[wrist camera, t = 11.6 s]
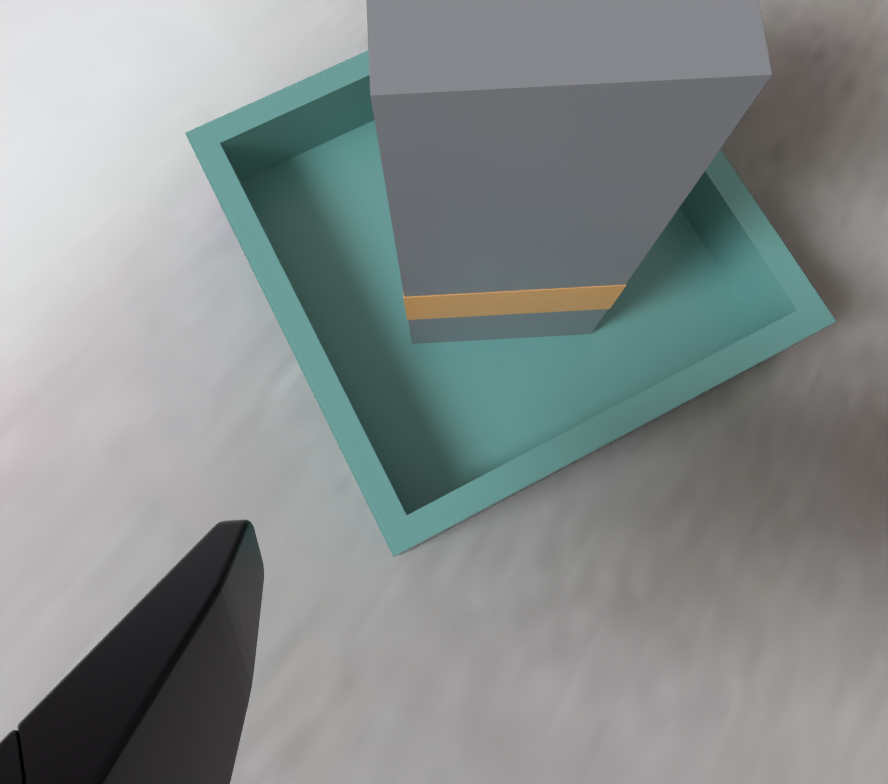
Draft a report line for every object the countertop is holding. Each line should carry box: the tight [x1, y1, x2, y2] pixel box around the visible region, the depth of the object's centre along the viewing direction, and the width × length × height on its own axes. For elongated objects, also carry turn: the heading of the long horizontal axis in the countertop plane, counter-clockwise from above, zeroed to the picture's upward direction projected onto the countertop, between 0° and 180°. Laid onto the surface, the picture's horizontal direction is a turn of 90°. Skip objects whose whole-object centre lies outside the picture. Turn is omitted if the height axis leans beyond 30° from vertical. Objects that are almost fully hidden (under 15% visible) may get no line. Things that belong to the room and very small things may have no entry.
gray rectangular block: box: [367, 0, 772, 344], centre depth 14 cm, size 5×5×11 cm
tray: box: [185, 50, 836, 557], centre depth 19 cm, size 12×12×3 cm
